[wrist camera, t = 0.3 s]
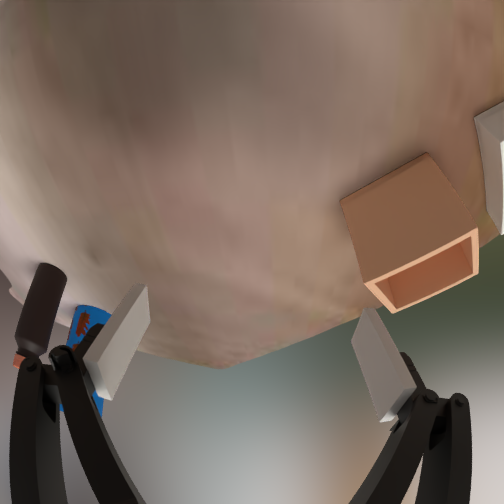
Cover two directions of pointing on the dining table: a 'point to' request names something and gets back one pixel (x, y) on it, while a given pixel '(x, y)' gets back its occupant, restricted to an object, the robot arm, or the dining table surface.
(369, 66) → the dining table surface
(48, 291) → the bottle
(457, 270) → the terracotta crate
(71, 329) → the thermos
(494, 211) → the white tray
